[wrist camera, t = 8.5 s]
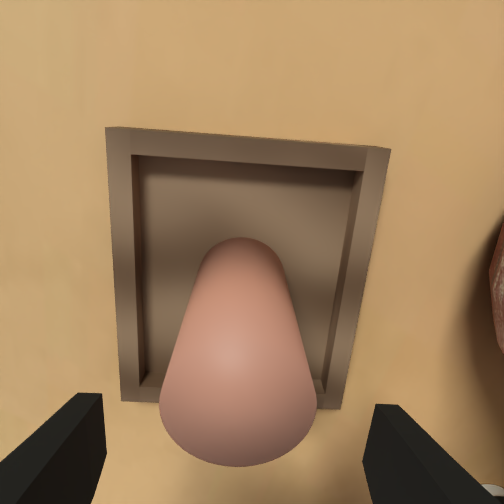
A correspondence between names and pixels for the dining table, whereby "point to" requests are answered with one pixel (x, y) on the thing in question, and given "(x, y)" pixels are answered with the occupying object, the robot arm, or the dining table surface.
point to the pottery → (498, 288)
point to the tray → (238, 225)
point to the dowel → (238, 362)
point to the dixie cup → (495, 491)
